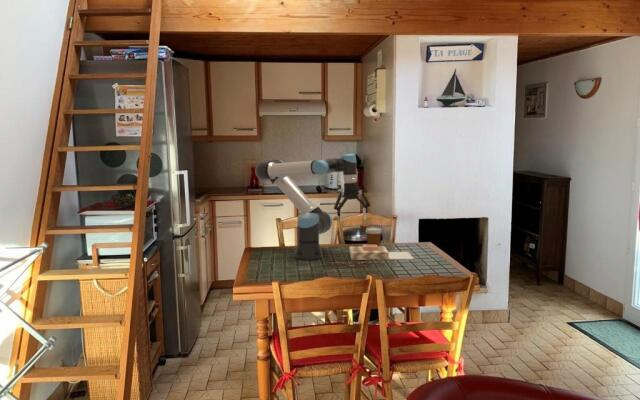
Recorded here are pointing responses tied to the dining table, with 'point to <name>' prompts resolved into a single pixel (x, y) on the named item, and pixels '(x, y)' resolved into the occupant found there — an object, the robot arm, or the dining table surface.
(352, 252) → the birch board
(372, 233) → the disposable coffee cup
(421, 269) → the dining table surface
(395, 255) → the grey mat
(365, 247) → the pink flat piece
